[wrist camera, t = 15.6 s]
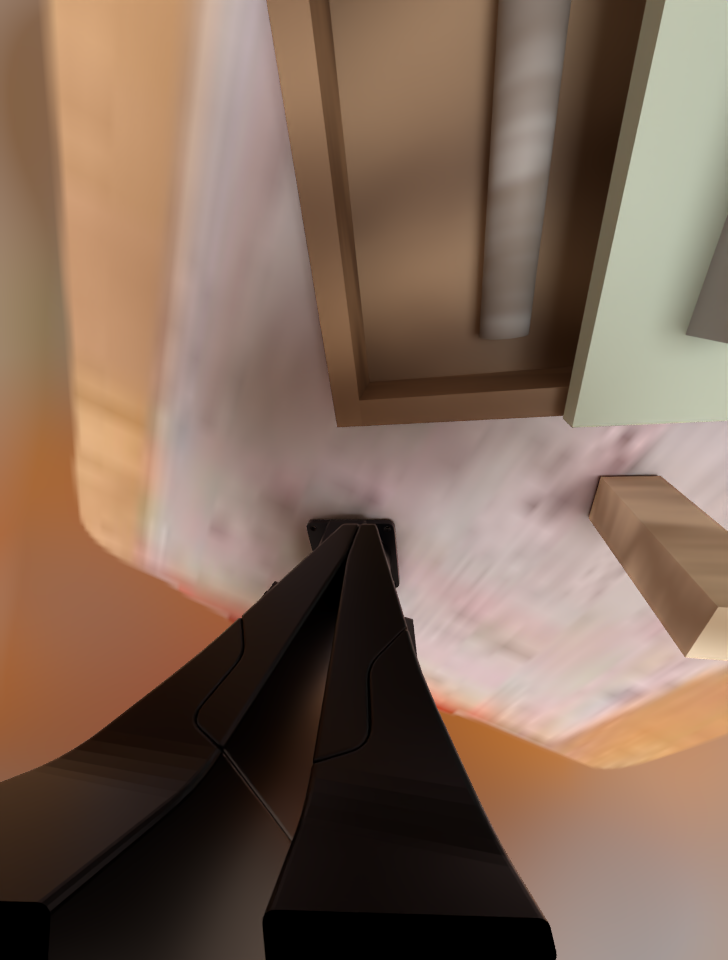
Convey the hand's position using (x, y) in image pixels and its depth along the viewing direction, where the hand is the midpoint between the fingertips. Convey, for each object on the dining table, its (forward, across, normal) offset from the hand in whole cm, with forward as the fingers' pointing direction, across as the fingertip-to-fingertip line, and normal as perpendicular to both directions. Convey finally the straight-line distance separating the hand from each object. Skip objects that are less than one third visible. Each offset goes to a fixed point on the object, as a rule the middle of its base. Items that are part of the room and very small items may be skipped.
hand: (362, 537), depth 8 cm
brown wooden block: (+12, -13, +7) cm, 19 cm away
